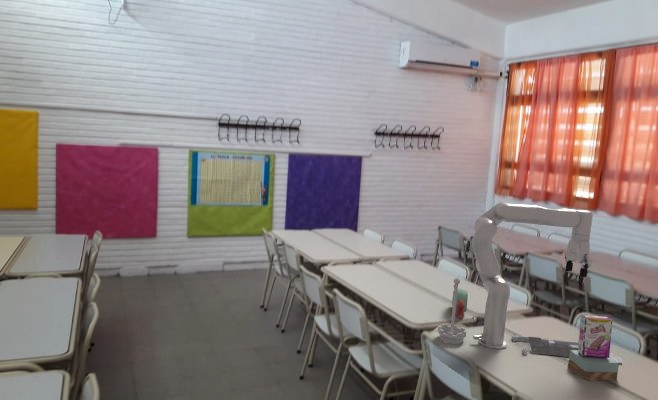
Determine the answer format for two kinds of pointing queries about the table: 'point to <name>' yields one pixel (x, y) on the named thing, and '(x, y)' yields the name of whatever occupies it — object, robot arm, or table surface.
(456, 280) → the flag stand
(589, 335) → the candy bar box
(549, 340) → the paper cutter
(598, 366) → the tower top slab
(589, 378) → the tower base slab
